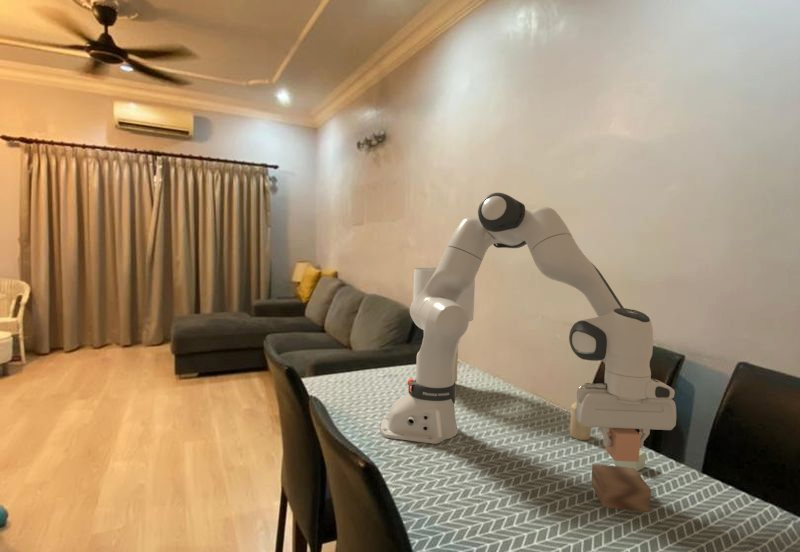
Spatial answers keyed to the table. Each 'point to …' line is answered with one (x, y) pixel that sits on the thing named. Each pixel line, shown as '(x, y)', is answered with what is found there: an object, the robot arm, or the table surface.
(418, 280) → the lamp
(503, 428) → the table surface
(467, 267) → the robot arm
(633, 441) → the terracotta block
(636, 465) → the sage block
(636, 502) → the walnut block
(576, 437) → the candle
